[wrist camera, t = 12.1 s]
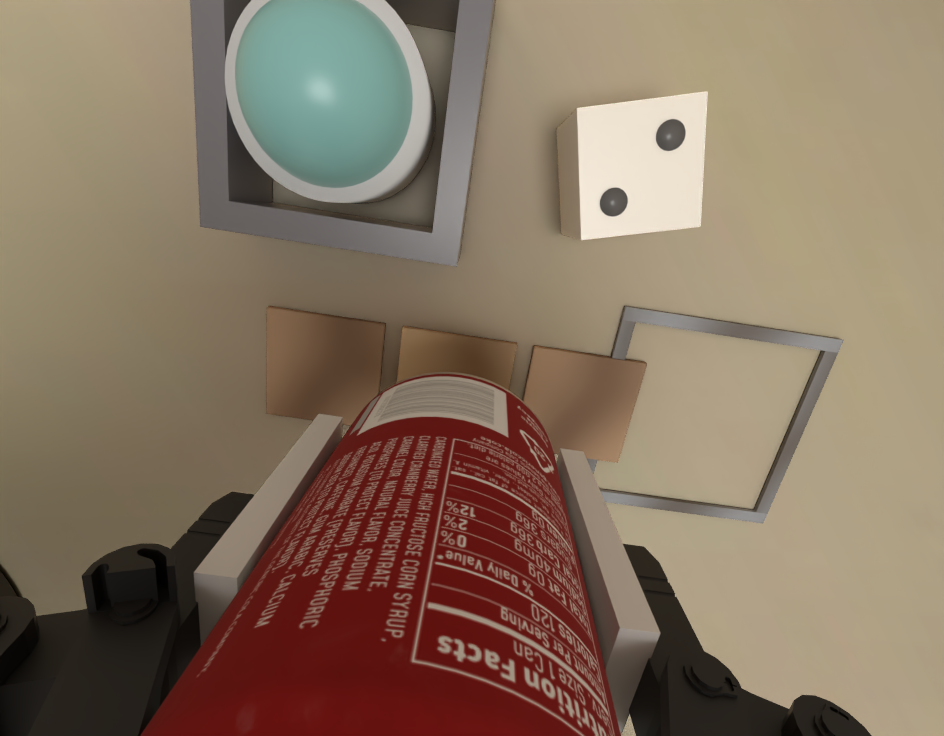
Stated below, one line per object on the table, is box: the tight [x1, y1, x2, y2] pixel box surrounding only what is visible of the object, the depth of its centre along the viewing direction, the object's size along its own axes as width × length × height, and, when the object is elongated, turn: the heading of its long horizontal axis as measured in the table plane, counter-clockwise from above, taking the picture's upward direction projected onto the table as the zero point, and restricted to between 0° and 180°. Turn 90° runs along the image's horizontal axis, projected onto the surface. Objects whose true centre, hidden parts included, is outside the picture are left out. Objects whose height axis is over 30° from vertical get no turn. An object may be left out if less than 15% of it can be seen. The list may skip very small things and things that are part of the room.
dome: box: [225, 0, 436, 204], centre depth 14 cm, size 6×6×5 cm
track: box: [266, 306, 844, 523], centre depth 21 cm, size 26×10×1 cm, turn 81°
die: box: [556, 91, 708, 240], centre depth 17 cm, size 4×4×4 cm
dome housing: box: [190, 0, 496, 266], centre depth 16 cm, size 9×9×4 cm
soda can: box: [140, 372, 621, 736], centre depth 10 cm, size 7×7×12 cm
